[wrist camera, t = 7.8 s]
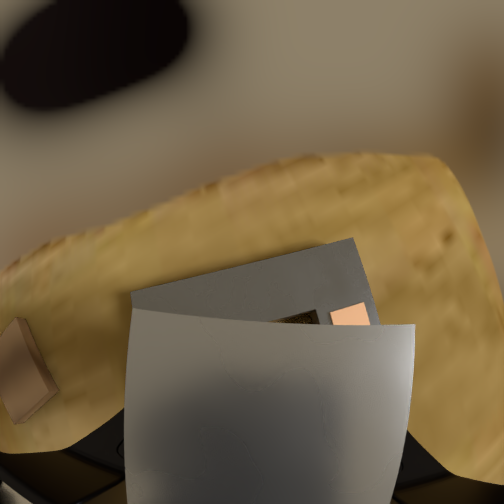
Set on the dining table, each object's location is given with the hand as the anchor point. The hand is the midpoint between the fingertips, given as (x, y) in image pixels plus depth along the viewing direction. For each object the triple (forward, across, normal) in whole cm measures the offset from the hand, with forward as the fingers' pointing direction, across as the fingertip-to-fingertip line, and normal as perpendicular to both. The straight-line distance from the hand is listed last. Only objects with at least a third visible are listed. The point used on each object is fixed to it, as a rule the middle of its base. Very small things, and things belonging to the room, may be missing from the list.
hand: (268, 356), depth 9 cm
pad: (+3, +23, +13) cm, 27 cm away
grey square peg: (+3, 0, +5) cm, 6 cm away
